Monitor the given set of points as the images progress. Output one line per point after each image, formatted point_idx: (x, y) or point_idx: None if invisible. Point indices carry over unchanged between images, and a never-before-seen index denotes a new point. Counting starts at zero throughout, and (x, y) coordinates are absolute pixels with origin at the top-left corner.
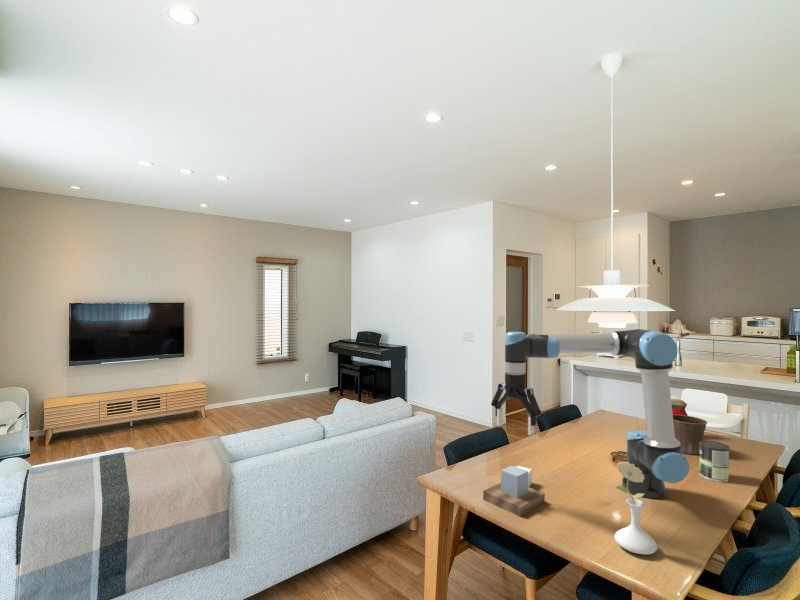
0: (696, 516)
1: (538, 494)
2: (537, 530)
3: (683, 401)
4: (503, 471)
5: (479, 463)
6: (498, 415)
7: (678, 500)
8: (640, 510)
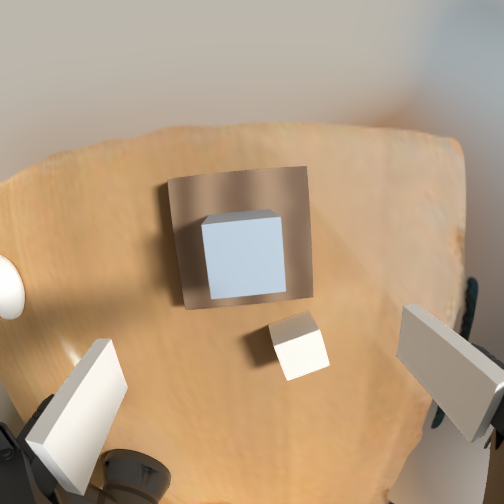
0: None
1: (190, 290)
2: (110, 166)
3: None
4: (269, 218)
5: None
6: (458, 350)
7: None
8: None
